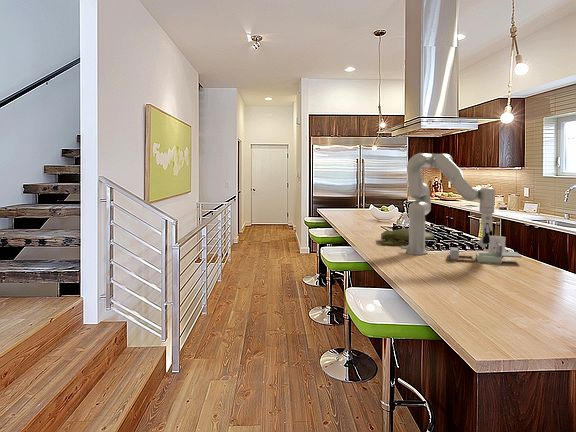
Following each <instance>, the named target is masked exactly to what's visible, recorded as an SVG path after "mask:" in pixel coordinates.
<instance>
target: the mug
mask: <svg viewBox="0 0 576 432" xmlns="http://www.w3.org/2000/svg"><path fill="white" fill-rule="evenodd" d="M489 236H490V239H491V241H490V242H489V244H488V248H487V249H486V247H485V248H483V249H484V250H485V251H487V253H494V251H497V243H500V244H501V245H502V252H506V238H507V237H506V236H502V235H489Z"/></svg>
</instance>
